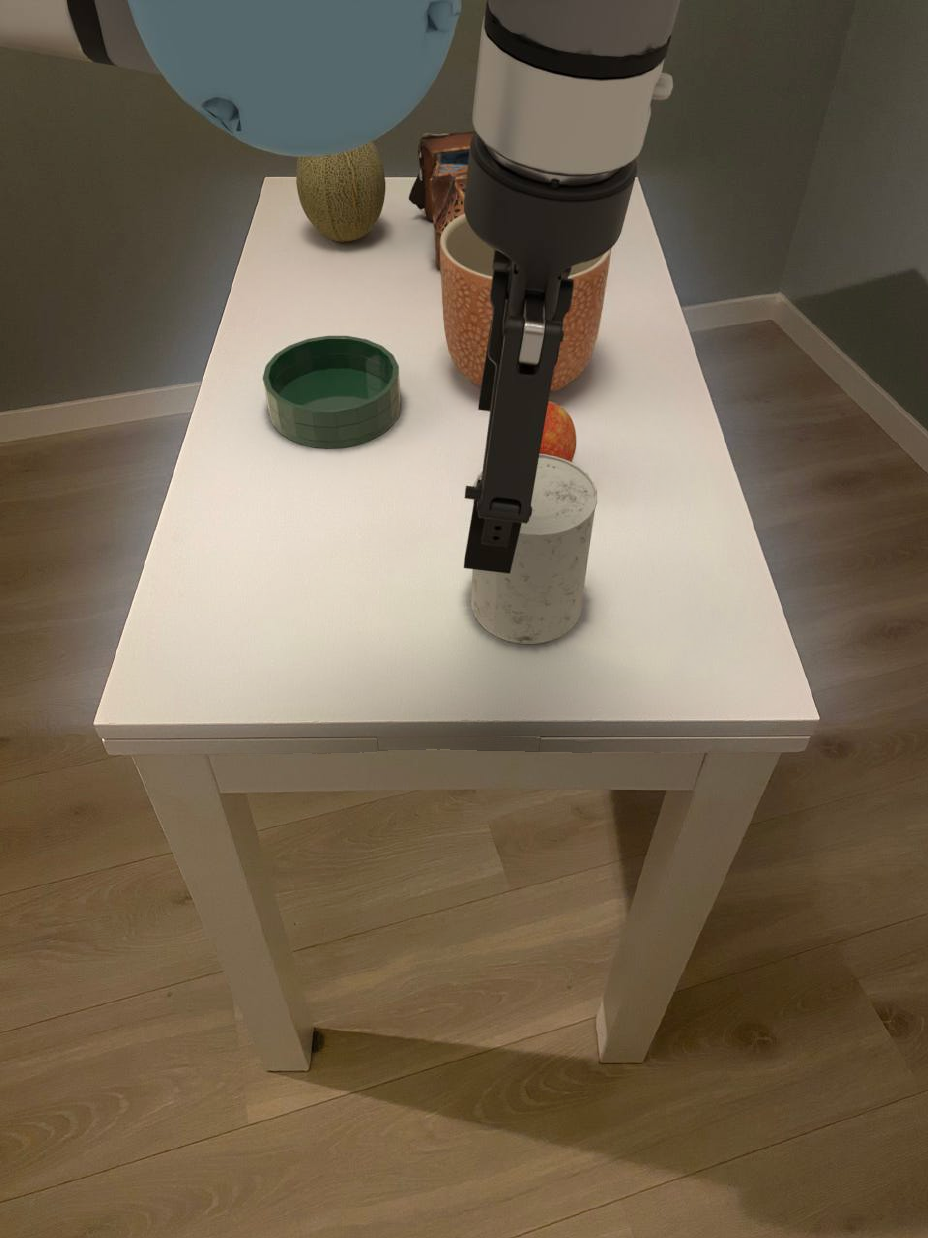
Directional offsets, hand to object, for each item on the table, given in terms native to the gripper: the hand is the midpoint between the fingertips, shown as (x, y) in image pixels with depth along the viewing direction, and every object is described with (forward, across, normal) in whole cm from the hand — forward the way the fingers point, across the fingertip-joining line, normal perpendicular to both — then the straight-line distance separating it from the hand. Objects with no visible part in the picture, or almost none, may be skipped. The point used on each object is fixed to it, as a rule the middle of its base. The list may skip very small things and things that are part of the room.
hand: (493, 482), depth 58 cm
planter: (+26, +42, -4) cm, 50 cm away
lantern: (+29, +69, +2) cm, 75 cm away
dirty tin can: (+22, +8, -5) cm, 24 cm away
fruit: (+31, +73, +20) cm, 82 cm away
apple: (+24, +25, -6) cm, 35 cm away
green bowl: (+27, +34, +15) cm, 46 cm away
